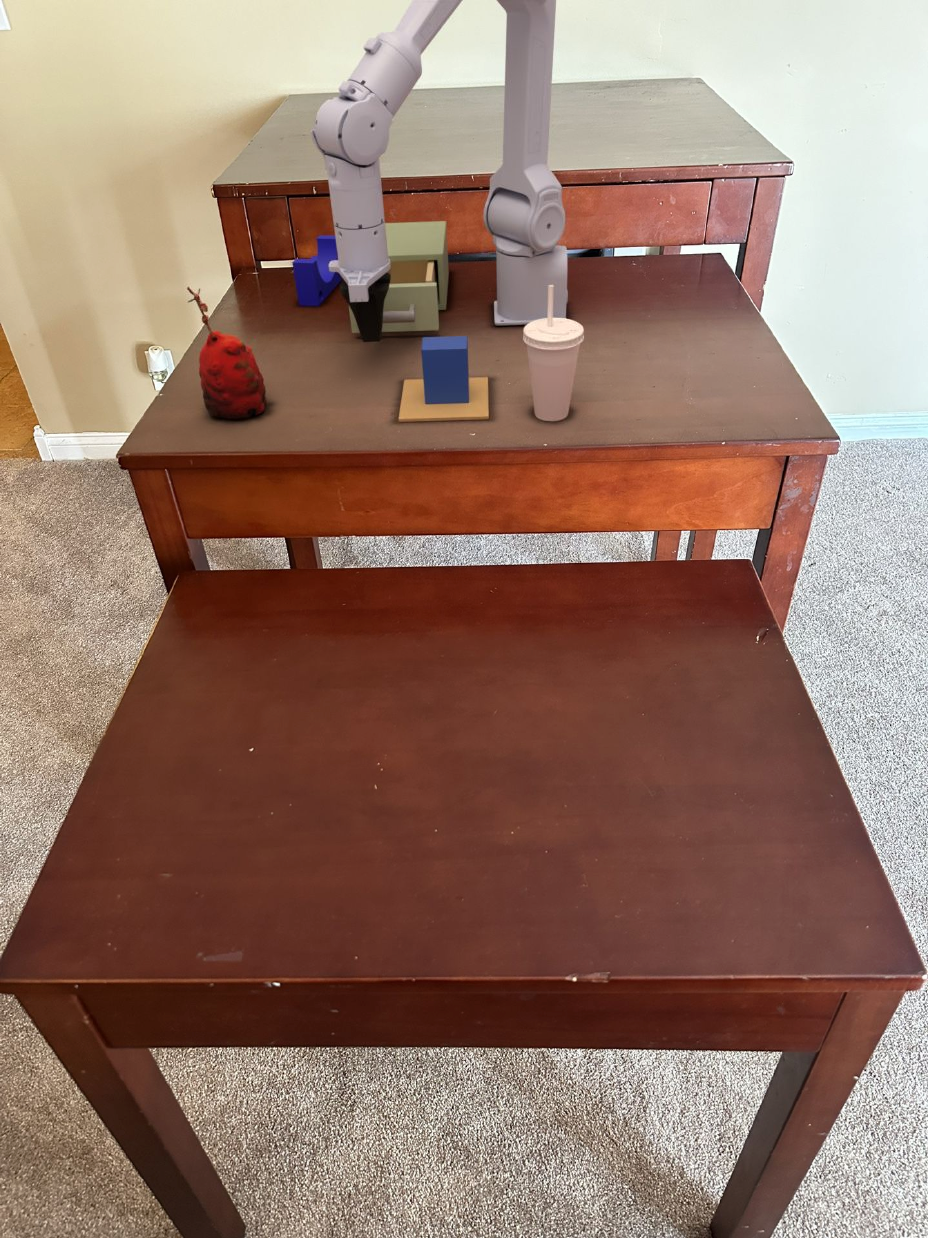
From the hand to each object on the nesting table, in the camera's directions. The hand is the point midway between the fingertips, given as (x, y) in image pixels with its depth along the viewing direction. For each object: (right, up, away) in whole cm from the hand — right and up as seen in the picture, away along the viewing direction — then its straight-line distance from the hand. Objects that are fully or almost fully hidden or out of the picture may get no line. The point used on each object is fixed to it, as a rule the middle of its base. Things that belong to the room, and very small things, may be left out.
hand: (372, 339), depth 109 cm
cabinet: (+2, +14, +22) cm, 26 cm away
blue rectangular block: (+9, -8, -6) cm, 14 cm away
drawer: (+2, +7, +12) cm, 14 cm away
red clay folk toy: (-15, -10, -5) cm, 19 cm away
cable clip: (-10, +14, +24) cm, 30 cm away
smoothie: (+21, -11, -9) cm, 25 cm away
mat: (+9, -9, -6) cm, 14 cm away
